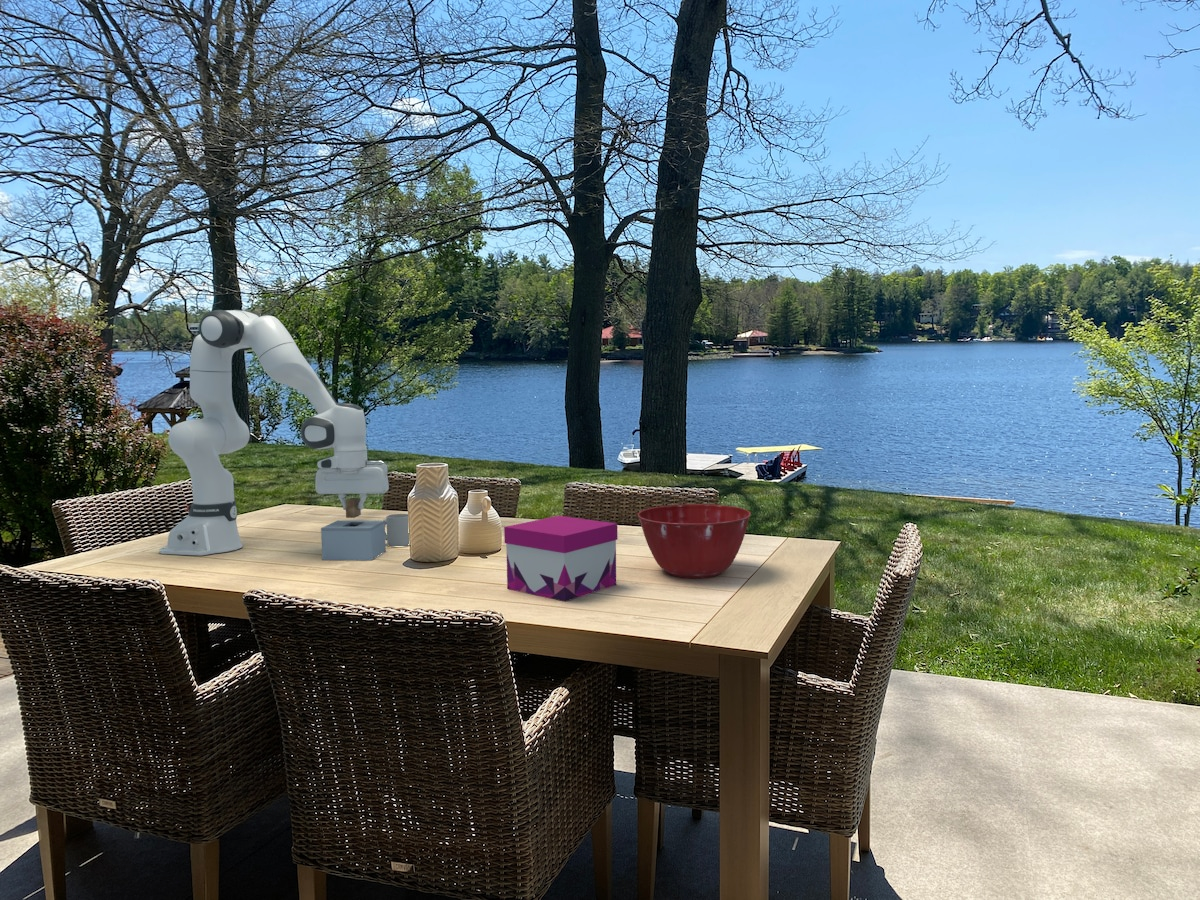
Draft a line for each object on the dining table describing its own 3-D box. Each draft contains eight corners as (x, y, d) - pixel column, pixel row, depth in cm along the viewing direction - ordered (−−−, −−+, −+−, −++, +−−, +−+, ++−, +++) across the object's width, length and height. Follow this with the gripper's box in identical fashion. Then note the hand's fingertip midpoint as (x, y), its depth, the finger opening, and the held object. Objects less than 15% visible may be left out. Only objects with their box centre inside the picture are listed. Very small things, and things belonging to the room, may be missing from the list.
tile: (346, 517, 234) (345, 500, 234) (352, 514, 239) (351, 497, 239) (354, 517, 234) (353, 500, 234) (360, 514, 239) (360, 497, 239)
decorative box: (559, 573, 213) (558, 515, 212) (618, 585, 201) (617, 523, 200) (505, 589, 199) (504, 526, 197) (565, 602, 187) (564, 536, 185)
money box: (322, 560, 232) (321, 528, 231) (338, 551, 244) (337, 520, 243) (371, 560, 231) (370, 528, 230) (385, 551, 243) (384, 520, 242)
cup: (404, 548, 247) (403, 518, 247) (374, 546, 250) (373, 517, 249) (416, 543, 254) (415, 514, 254) (386, 541, 257) (385, 513, 256)
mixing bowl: (660, 590, 196) (659, 525, 194) (624, 564, 223) (623, 506, 222) (770, 581, 203) (770, 518, 202) (722, 556, 231) (722, 501, 229)
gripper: (390, 459, 238) (392, 507, 239) (320, 460, 239) (323, 507, 240) (383, 461, 231) (385, 511, 233) (311, 462, 233) (314, 511, 234)
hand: (353, 509), depth 236 cm, fingers closed on tile, 2 cm apart
